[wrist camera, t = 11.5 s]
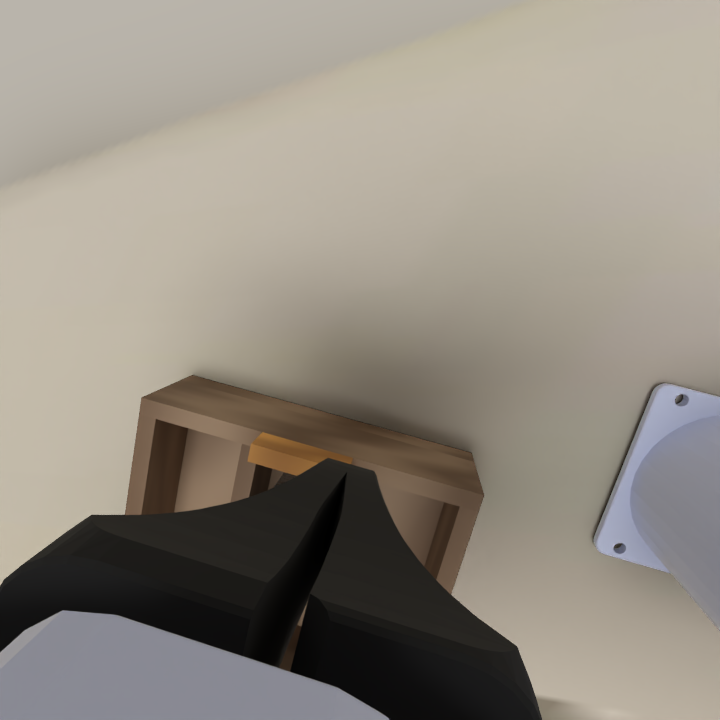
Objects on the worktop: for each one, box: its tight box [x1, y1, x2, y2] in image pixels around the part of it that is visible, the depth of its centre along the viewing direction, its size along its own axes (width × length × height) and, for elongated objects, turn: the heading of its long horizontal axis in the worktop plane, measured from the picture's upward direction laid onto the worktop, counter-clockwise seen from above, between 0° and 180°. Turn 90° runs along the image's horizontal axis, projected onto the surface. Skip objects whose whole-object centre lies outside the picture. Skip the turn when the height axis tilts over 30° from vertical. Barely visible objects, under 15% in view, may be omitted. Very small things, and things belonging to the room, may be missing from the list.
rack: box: [125, 375, 484, 672], centre depth 20 cm, size 14×11×5 cm
